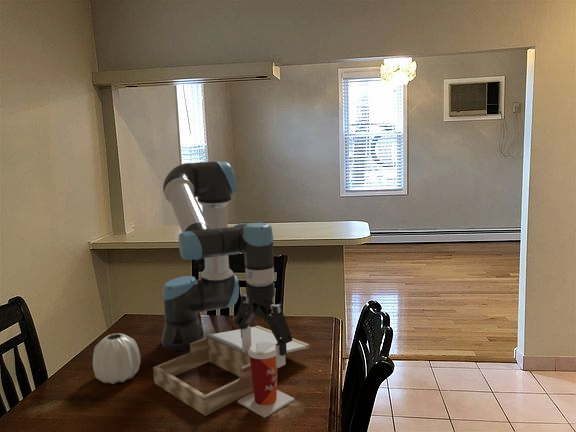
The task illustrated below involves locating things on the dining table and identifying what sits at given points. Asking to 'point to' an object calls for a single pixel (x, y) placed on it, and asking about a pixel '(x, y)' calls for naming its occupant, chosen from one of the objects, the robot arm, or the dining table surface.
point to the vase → (116, 358)
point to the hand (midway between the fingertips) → (263, 357)
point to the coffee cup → (264, 372)
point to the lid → (254, 339)
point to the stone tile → (266, 409)
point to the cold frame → (200, 355)
